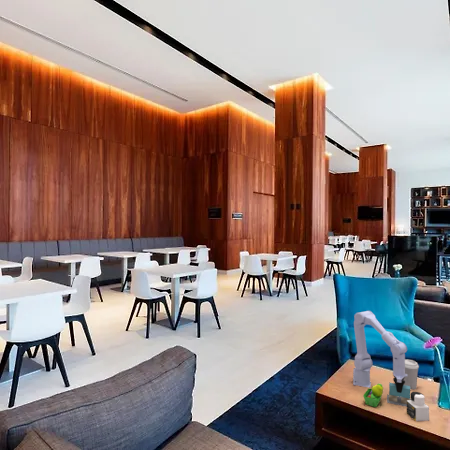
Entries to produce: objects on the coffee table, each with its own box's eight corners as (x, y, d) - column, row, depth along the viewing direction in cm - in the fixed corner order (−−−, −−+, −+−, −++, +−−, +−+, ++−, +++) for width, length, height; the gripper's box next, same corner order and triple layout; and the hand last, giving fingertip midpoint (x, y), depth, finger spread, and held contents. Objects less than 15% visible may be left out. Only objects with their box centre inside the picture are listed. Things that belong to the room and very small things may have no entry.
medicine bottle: (406, 414, 170) (406, 390, 170) (419, 413, 170) (419, 389, 171) (415, 422, 163) (415, 397, 163) (429, 421, 163) (429, 396, 163)
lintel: (389, 394, 182) (389, 385, 182) (389, 391, 186) (389, 382, 186) (410, 398, 178) (410, 389, 178) (409, 395, 181) (409, 386, 181)
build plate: (386, 403, 180) (386, 402, 180) (387, 395, 189) (387, 394, 189) (412, 408, 175) (412, 407, 175) (411, 400, 184) (411, 399, 184)
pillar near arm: (388, 400, 182) (388, 394, 182) (389, 397, 186) (389, 391, 186) (397, 402, 180) (397, 396, 180) (397, 398, 184) (397, 393, 184)
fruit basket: (368, 396, 187) (368, 376, 187) (385, 401, 182) (385, 381, 182) (362, 405, 178) (362, 384, 178) (380, 411, 173) (380, 389, 173)
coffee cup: (422, 392, 192) (421, 365, 192) (404, 390, 194) (403, 364, 194) (415, 384, 202) (415, 359, 202) (398, 383, 203) (398, 358, 203)
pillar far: (401, 402, 180) (401, 397, 180) (401, 399, 183) (401, 394, 183) (409, 404, 178) (409, 399, 178) (409, 401, 181) (409, 395, 181)
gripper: (407, 372, 174) (408, 398, 174) (406, 361, 187) (407, 386, 187) (392, 369, 177) (392, 395, 177) (392, 359, 190) (392, 383, 190)
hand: (399, 390), depth 182 cm, fingers closed on lintel, 4 cm apart
